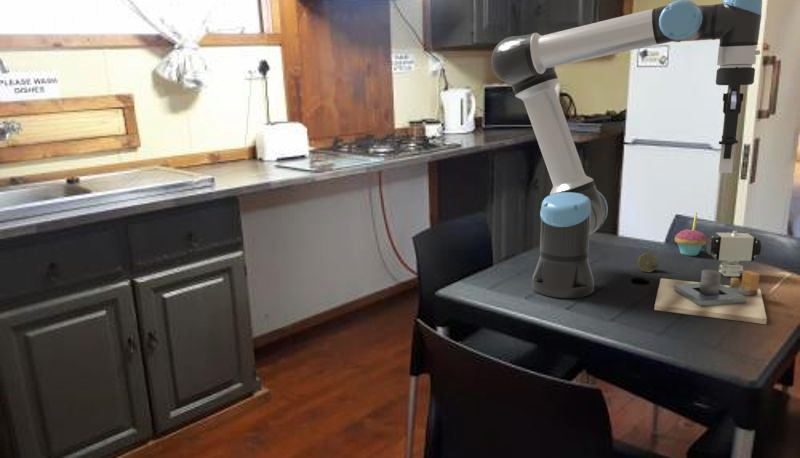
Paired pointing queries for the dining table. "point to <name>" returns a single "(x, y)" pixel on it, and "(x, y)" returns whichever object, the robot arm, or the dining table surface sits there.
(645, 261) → the lime
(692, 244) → the cupcake
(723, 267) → the pneumatic valve
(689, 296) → the flange plate
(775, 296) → the dining table surface
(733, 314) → the post board
